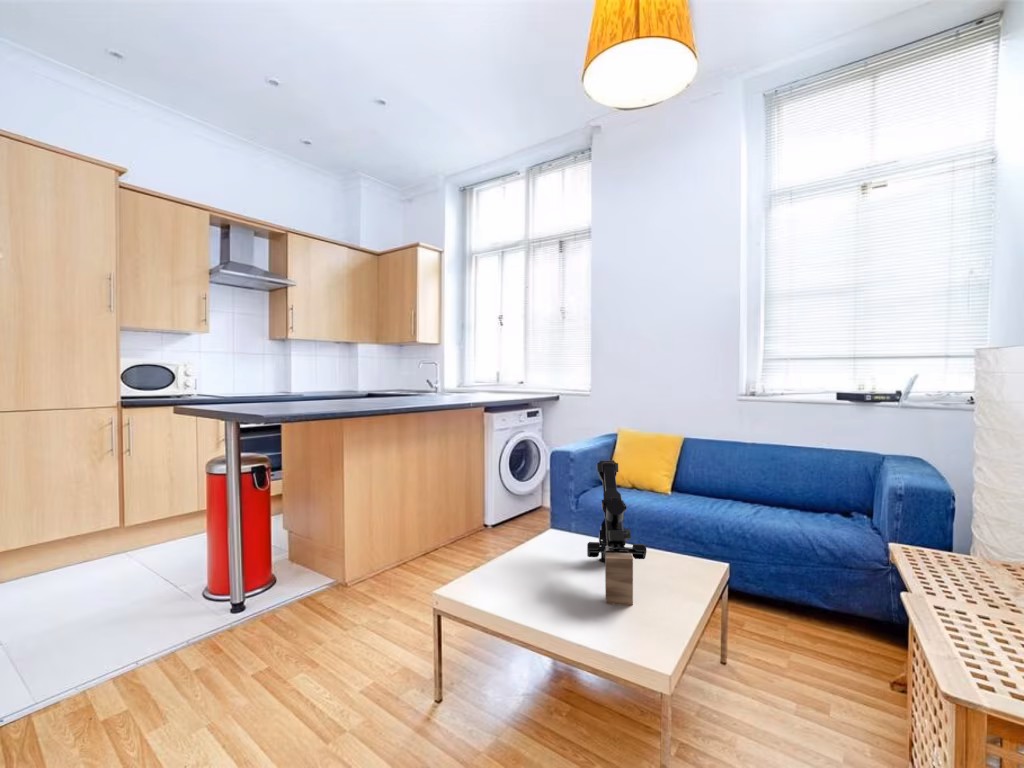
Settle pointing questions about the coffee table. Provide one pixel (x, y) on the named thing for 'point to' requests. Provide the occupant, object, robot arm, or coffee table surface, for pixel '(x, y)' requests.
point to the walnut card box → (619, 578)
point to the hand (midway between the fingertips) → (618, 576)
